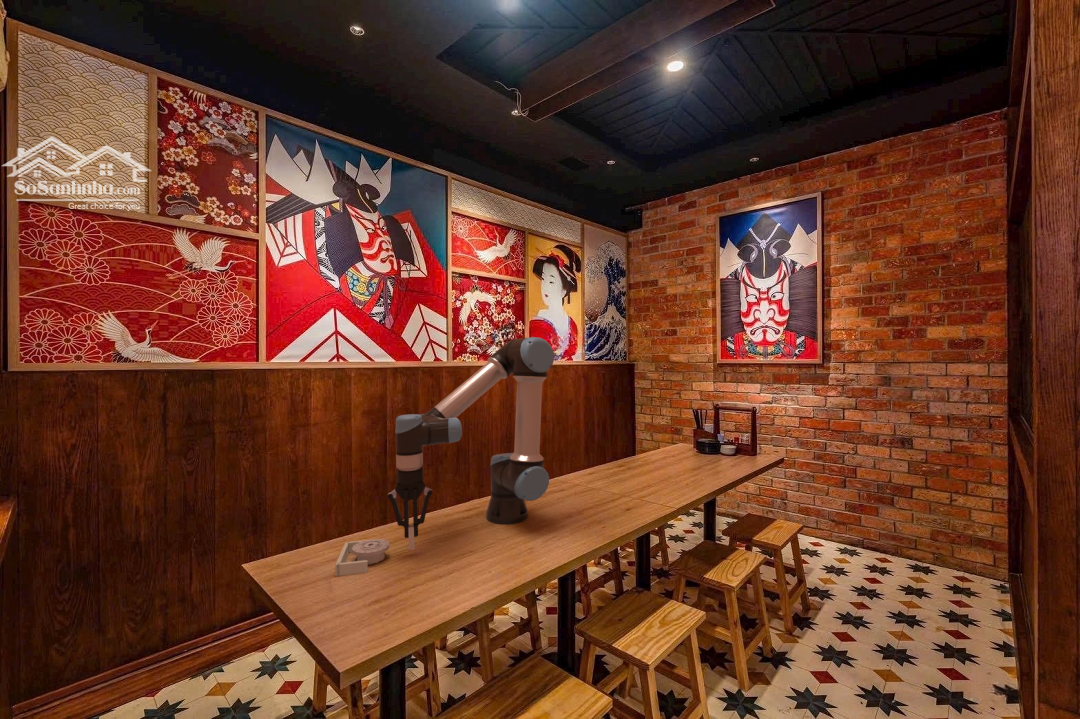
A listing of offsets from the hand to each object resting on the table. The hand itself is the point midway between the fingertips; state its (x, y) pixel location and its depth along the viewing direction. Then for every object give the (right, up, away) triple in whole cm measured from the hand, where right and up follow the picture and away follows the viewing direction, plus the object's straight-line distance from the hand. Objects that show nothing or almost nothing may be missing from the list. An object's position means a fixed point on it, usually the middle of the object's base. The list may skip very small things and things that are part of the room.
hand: (411, 547), depth 135 cm
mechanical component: (-16, 0, -3) cm, 16 cm away
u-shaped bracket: (-14, -2, -4) cm, 15 cm away
